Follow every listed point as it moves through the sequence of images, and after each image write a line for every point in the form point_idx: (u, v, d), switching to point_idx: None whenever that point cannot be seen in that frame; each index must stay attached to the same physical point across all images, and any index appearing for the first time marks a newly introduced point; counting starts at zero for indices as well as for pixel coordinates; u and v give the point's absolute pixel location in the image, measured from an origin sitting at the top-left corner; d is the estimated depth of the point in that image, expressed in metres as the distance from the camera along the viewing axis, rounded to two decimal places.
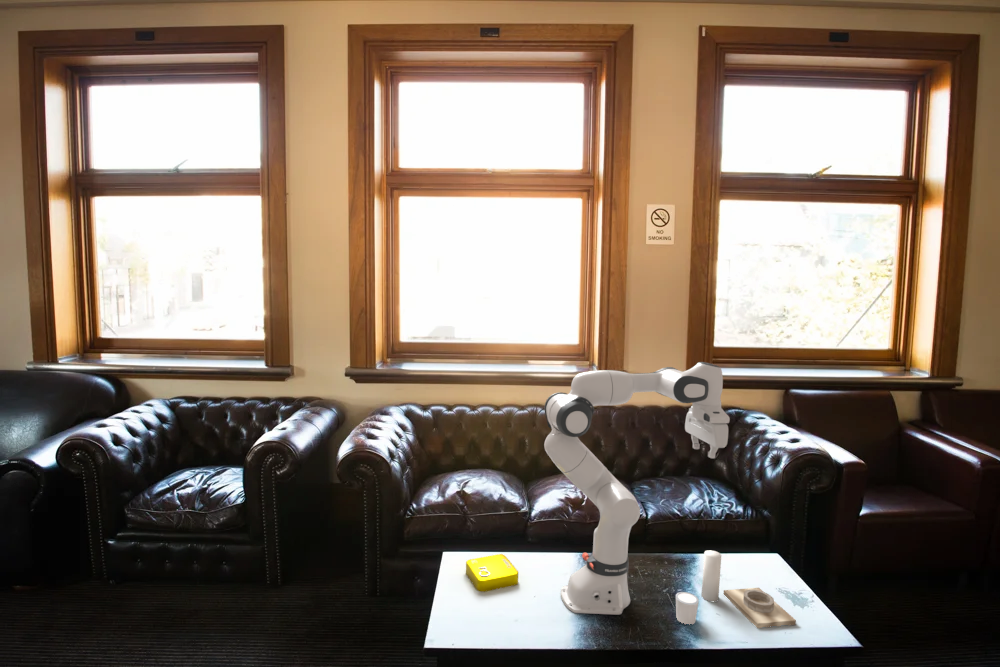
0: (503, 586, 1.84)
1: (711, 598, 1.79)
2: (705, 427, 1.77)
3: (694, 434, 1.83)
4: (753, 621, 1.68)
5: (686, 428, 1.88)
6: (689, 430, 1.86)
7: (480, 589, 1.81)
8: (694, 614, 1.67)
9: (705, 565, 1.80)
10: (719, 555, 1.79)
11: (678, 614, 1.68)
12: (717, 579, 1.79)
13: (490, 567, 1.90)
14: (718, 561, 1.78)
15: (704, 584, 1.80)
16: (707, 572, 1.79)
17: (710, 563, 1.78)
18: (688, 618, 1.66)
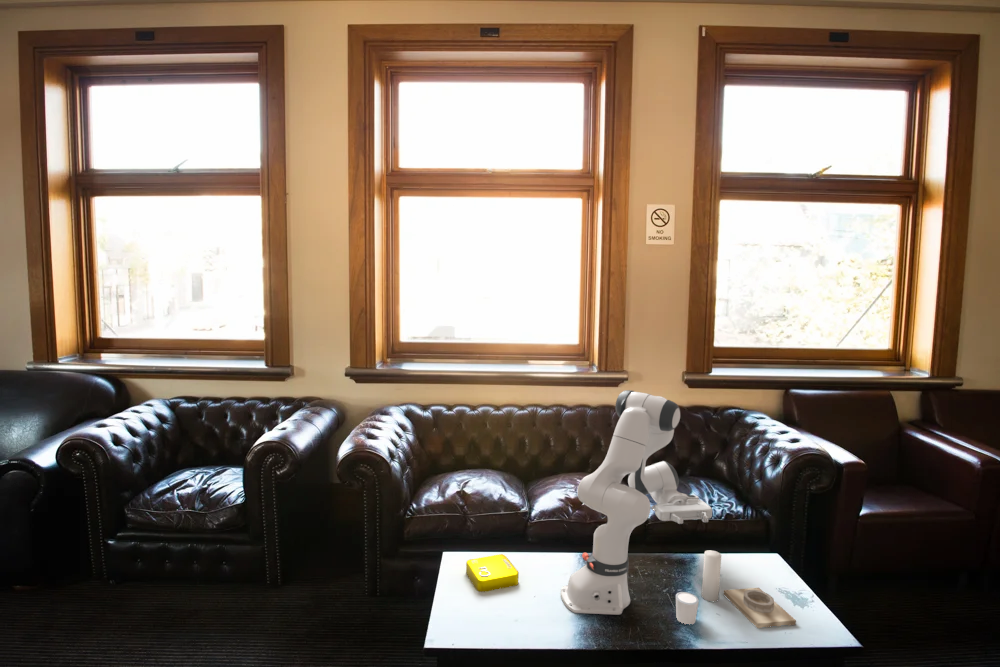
0: (503, 586, 1.84)
1: (711, 598, 1.79)
2: (688, 505, 2.02)
3: (678, 510, 1.97)
4: (753, 621, 1.68)
5: (663, 510, 1.97)
6: (669, 509, 1.97)
7: (480, 589, 1.81)
8: (694, 614, 1.67)
9: (705, 565, 1.80)
10: (719, 555, 1.79)
11: (678, 614, 1.68)
12: (717, 579, 1.79)
13: (490, 567, 1.89)
14: (718, 561, 1.78)
15: (704, 584, 1.80)
16: (707, 572, 1.79)
17: (710, 563, 1.78)
18: (688, 618, 1.66)
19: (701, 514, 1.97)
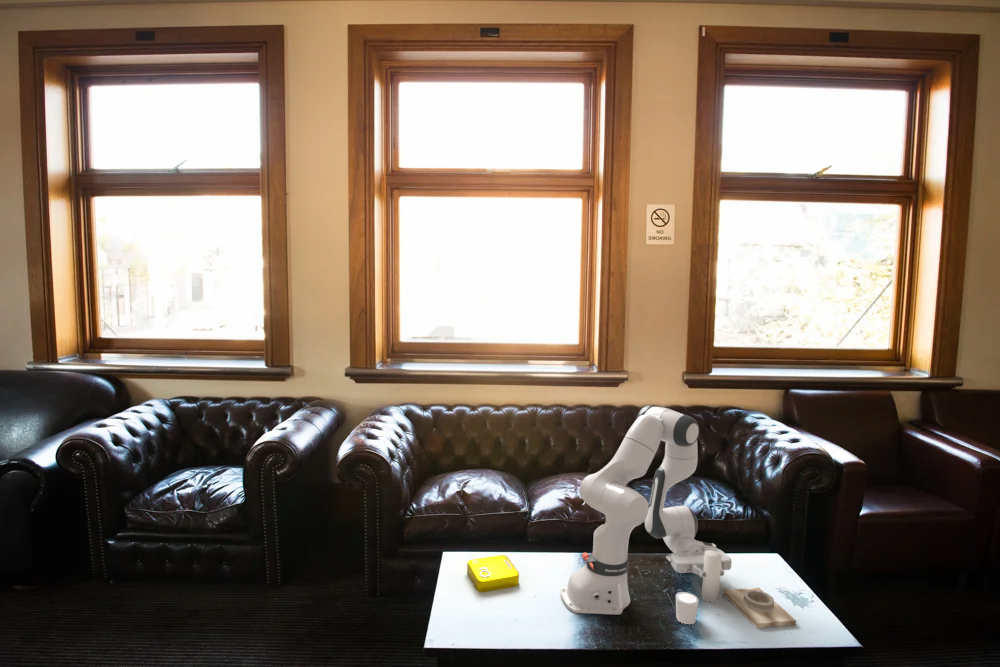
0: (503, 587, 1.83)
1: (711, 598, 1.79)
2: None
3: (695, 561, 1.85)
4: (753, 621, 1.68)
5: (680, 561, 1.84)
6: (686, 561, 1.85)
7: (480, 590, 1.81)
8: (694, 614, 1.67)
9: (705, 565, 1.80)
10: (719, 555, 1.79)
11: (678, 614, 1.68)
12: (717, 579, 1.79)
13: (491, 567, 1.89)
14: (718, 561, 1.78)
15: (704, 584, 1.80)
16: (707, 572, 1.79)
17: (711, 563, 1.78)
18: (688, 618, 1.66)
19: None
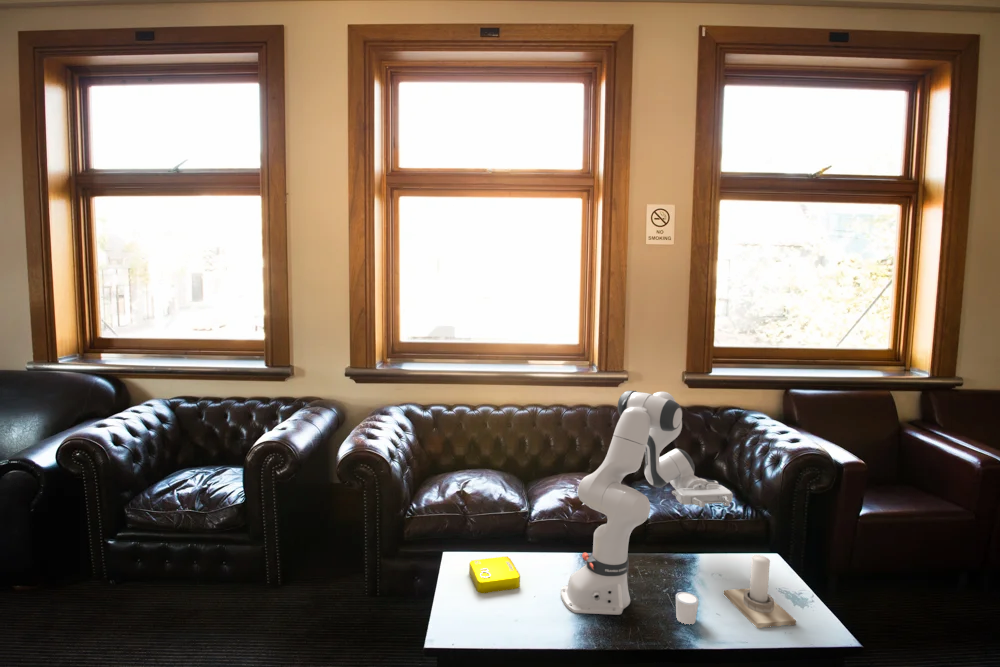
0: (503, 589, 1.82)
1: None
2: (708, 490, 2.03)
3: (699, 494, 1.98)
4: (753, 621, 1.68)
5: (684, 494, 1.98)
6: (690, 493, 1.98)
7: (480, 590, 1.81)
8: (694, 614, 1.67)
9: (753, 570, 1.74)
10: (767, 560, 1.74)
11: (678, 614, 1.68)
12: (766, 585, 1.73)
13: (492, 569, 1.88)
14: (767, 566, 1.72)
15: (752, 590, 1.75)
16: (755, 578, 1.73)
17: (759, 568, 1.73)
18: (688, 618, 1.66)
19: (722, 498, 1.98)
